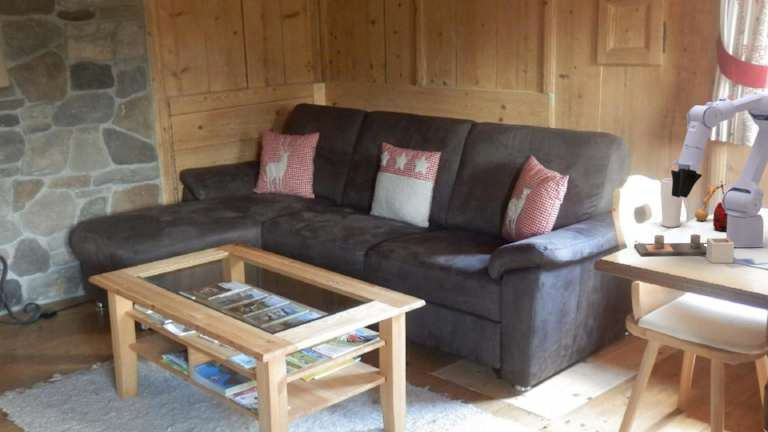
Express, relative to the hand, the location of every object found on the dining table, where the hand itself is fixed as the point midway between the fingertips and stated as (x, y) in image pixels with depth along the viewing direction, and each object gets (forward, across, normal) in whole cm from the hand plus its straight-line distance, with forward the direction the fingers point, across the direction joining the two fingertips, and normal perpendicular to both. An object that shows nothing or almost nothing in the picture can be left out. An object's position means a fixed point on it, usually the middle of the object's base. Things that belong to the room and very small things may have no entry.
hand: (679, 196), depth 232 cm
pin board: (+14, -11, +6) cm, 19 cm away
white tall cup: (+7, -40, +10) cm, 42 cm away
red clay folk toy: (+4, -34, +25) cm, 42 cm away
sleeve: (+14, -1, +15) cm, 21 cm away
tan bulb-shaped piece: (+3, -46, +21) cm, 51 cm away
